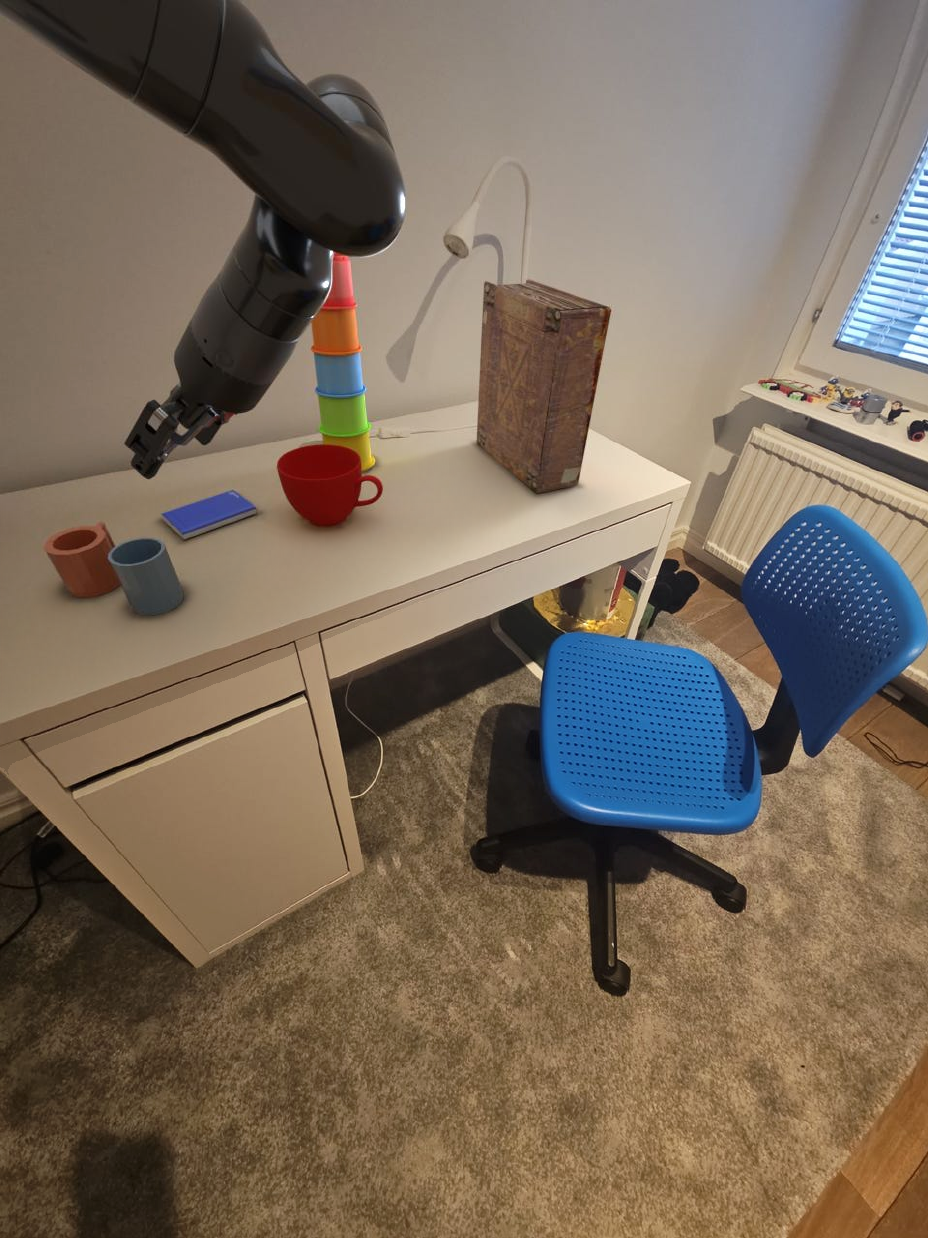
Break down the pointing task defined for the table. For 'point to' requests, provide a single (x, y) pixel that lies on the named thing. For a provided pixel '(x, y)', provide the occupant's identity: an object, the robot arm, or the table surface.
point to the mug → (83, 559)
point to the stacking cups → (341, 367)
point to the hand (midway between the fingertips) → (171, 453)
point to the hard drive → (208, 514)
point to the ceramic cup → (324, 482)
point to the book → (538, 380)
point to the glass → (146, 575)
